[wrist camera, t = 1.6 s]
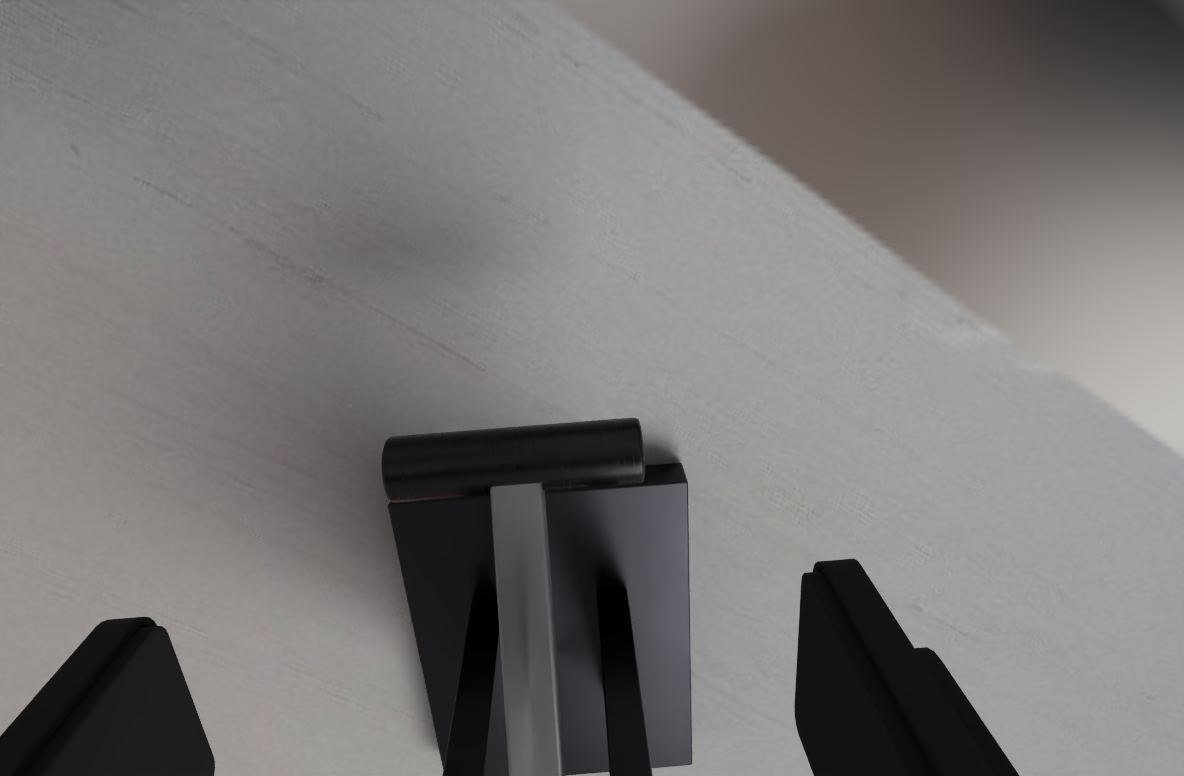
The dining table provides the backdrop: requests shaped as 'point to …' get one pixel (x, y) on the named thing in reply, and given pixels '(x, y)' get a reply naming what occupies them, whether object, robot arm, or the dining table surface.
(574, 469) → the lever
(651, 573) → the bracket
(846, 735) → the robot arm
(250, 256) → the dining table surface
